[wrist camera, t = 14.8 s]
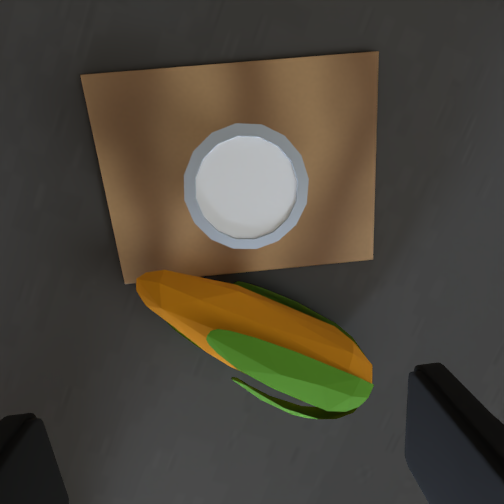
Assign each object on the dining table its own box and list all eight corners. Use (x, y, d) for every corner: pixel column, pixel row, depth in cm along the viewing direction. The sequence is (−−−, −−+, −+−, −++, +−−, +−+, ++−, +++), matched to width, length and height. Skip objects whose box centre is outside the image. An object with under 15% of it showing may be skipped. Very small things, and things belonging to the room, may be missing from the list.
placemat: (126, 282, 28) (124, 284, 27) (82, 75, 23) (79, 74, 23) (371, 257, 28) (373, 259, 28) (376, 52, 24) (379, 50, 23)
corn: (360, 466, 25) (91, 359, 21) (327, 397, 32) (124, 308, 28) (418, 384, 24) (143, 253, 20) (370, 331, 31) (164, 229, 27)
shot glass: (275, 231, 27) (291, 261, 20) (187, 212, 26) (172, 236, 19) (299, 140, 25) (325, 140, 18) (205, 116, 24) (195, 107, 17)
